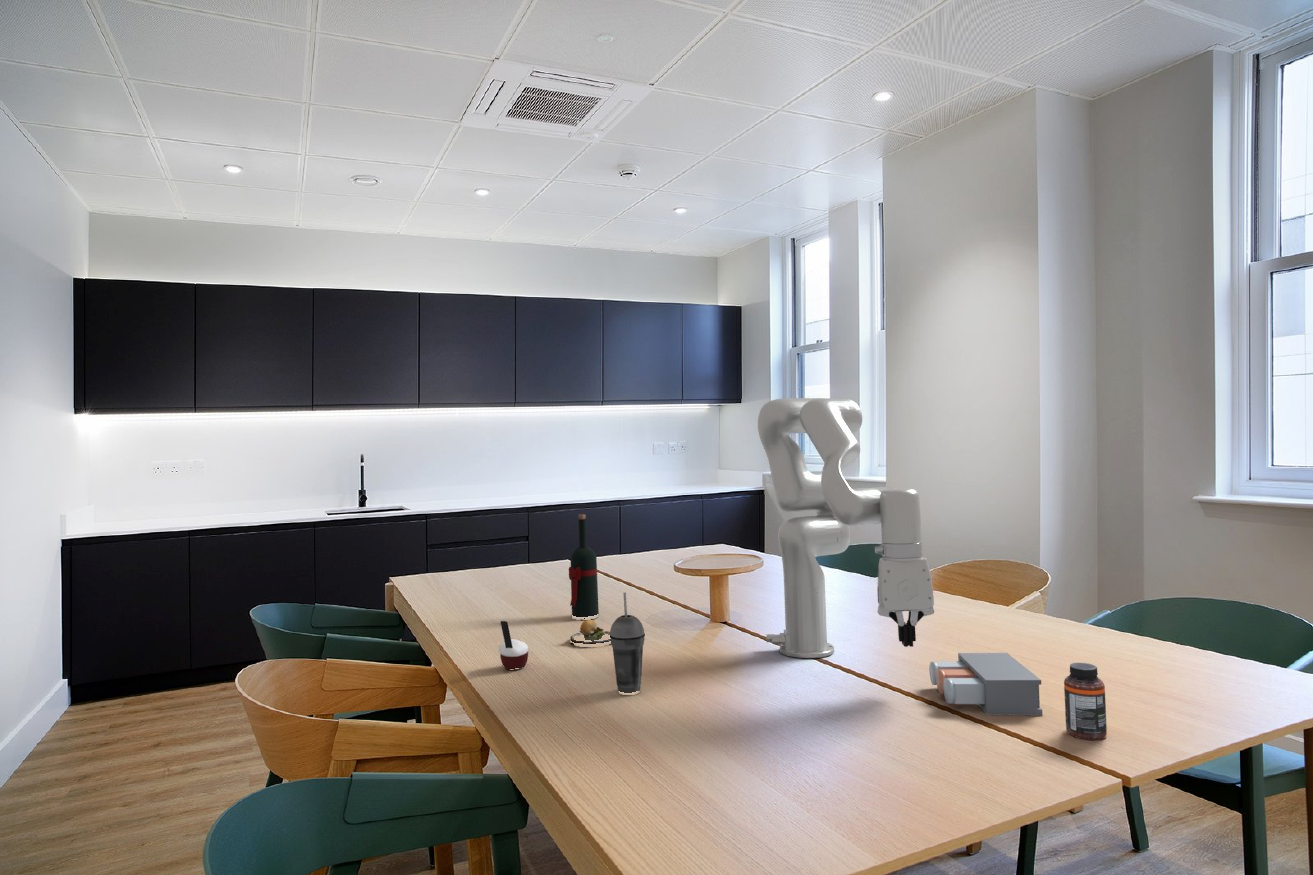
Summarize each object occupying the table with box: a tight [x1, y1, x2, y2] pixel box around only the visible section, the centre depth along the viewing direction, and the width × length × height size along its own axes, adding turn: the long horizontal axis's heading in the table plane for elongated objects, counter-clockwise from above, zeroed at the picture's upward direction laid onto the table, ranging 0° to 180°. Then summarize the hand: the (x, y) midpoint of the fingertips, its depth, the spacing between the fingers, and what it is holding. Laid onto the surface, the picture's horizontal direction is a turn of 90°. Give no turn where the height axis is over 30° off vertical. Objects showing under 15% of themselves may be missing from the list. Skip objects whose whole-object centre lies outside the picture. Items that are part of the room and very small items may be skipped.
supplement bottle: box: [1063, 662, 1108, 741], centre depth 130 cm, size 6×6×11 cm
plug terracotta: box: [936, 669, 975, 695], centre depth 150 cm, size 9×4×4 cm, turn 84°
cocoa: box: [498, 620, 530, 670], centre depth 180 cm, size 10×6×12 cm, turn 144°
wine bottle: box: [568, 513, 600, 617], centre depth 231 cm, size 8×10×30 cm
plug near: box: [943, 678, 985, 705], centre depth 144 cm, size 9×4×4 cm, turn 84°
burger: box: [569, 618, 611, 644], centre depth 203 cm, size 12×12×8 cm
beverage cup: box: [609, 591, 646, 693], centre depth 161 cm, size 7×7×20 cm
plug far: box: [928, 660, 967, 686], centre depth 155 cm, size 9×4×4 cm, turn 84°
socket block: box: [957, 652, 1043, 716], centre depth 149 cm, size 9×18×6 cm, turn 174°
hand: (907, 645), depth 156 cm, fingers closed
